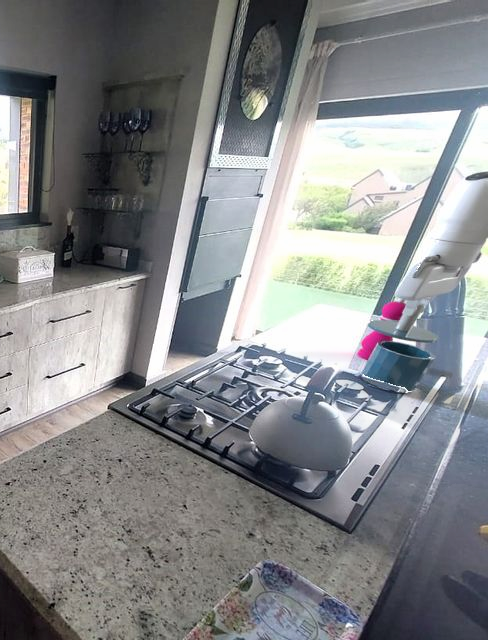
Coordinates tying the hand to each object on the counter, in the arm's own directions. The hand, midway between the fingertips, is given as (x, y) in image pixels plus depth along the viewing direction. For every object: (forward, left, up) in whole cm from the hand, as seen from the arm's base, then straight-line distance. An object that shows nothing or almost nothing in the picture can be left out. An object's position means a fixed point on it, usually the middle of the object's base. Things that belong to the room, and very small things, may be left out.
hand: (411, 313), depth 94 cm
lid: (0, 0, -5) cm, 5 cm away
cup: (+2, -17, -24) cm, 29 cm away
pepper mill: (+13, -33, -24) cm, 43 cm away
